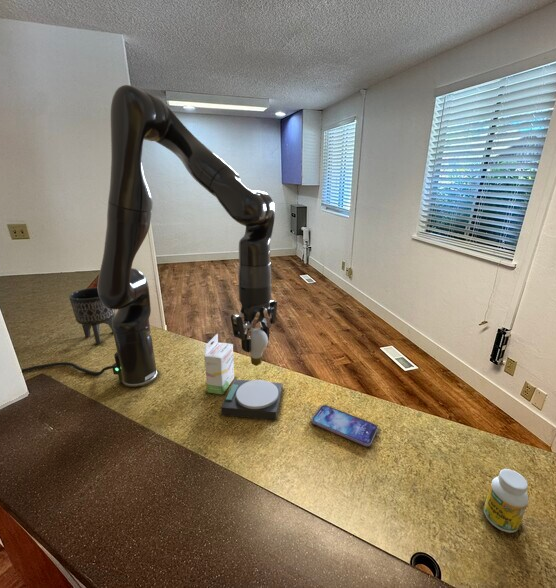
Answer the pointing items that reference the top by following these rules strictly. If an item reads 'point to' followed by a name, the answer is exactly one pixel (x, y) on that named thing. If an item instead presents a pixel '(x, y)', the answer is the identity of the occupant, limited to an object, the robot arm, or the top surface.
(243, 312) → the robot arm
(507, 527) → the supplement bottle
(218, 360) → the ink box
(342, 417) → the smartphone
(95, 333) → the planter
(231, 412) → the kitchen scale
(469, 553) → the top surface
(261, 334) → the light bulb
